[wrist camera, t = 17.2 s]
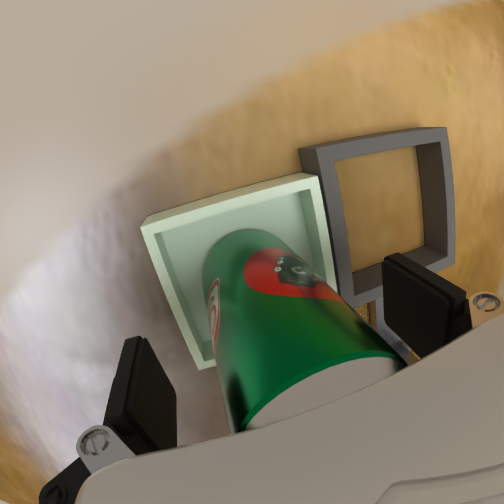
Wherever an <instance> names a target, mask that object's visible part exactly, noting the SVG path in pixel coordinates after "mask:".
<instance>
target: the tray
mask: <svg viewBox="0 0 504 504" xmlns="http://www.w3.org/2000/svg"><path fill="white" fill-rule="evenodd" d="M140 228H141V231H142V234H143V237H144V240H145V243H146V245H147V248H148V251H149V254H150V256H151V259H152V262H153V264H154V267H155V270H156V272H157V275H158V277H159V280H160V282H161V285H162V287H163V290H164V292H165V295H166V297H167V300H168V302H169V305H170V307H171V309H172V312H173V314H174V317H175V319H176V321H177V324H178V326H179V328H180V330H181V333H182V335H183V337H184V339H185V342H186V344H187V346H188V348H189V350H190V353H191V355H192V357H193V359H194V361H195V363H196V365H197V368H198V370H202V369H206V368H210V367H213V366H216V362H215V357H214V352H213V346H212V341H211V335H210V329H209V323H208V317H207V311H206V305H205V299H204V293H203V286H202V269H203V265H204V262H205V260H206V258H207V256H208V254H209V253H210V251H211V250H212V248H213V247H214V246H215V245H216V244H217V243H218V242H220V241H221V240H222V239H224V238H225V237H227V236H229V235H231V234H233V233H236V232H239V231H244V230H262V231H265V232H269V233H271V234H273V235H275V236H277V237H278V238H280V239H281V240H282V241H283V242H284V243H285V244H286V245H287V246H289V247H290V248H291V249H292V250H293V251H294V252H295V253H296V254H297V255H298V256H299V257H300V258H301V259H302V260H303V261H304V262H305V263H306V264H308V265H309V266H310V267H311V268H312V269H313V270H314V271H315V272H316V273H317V274H318V275H319V276H320V277H321V278H322V279H323V280H324V281H325V282H326V283H327V284H328V285H329V286H330V287H331V288H333V289H334V290H335V291H336V292H337V286H336V279H335V272H334V265H333V258H332V252H331V246H330V240H329V234H328V228H327V222H326V216H325V211H324V206H323V200H322V195H321V190H320V185H319V180H318V176H316V175H311V174H306V173H301V172H299V173H295V174H291V175H287V176H283V177H279V178H275V179H271V180H268V181H264V182H260V183H256V184H253V185H249V186H245V187H242V188H238V189H235V190H231V191H228V192H224V193H221V194H217V195H214V196H211V197H207V198H204V199H201V200H197V201H194V202H191V203H187V204H184V205H181V206H178V207H175V208H172V209H168V210H165V211H162V212H159V213H156V214H153V215H150V216H148V217H147V218H146V219H145V221H144V222H143V224H142V225H141V227H140Z"/></svg>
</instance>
